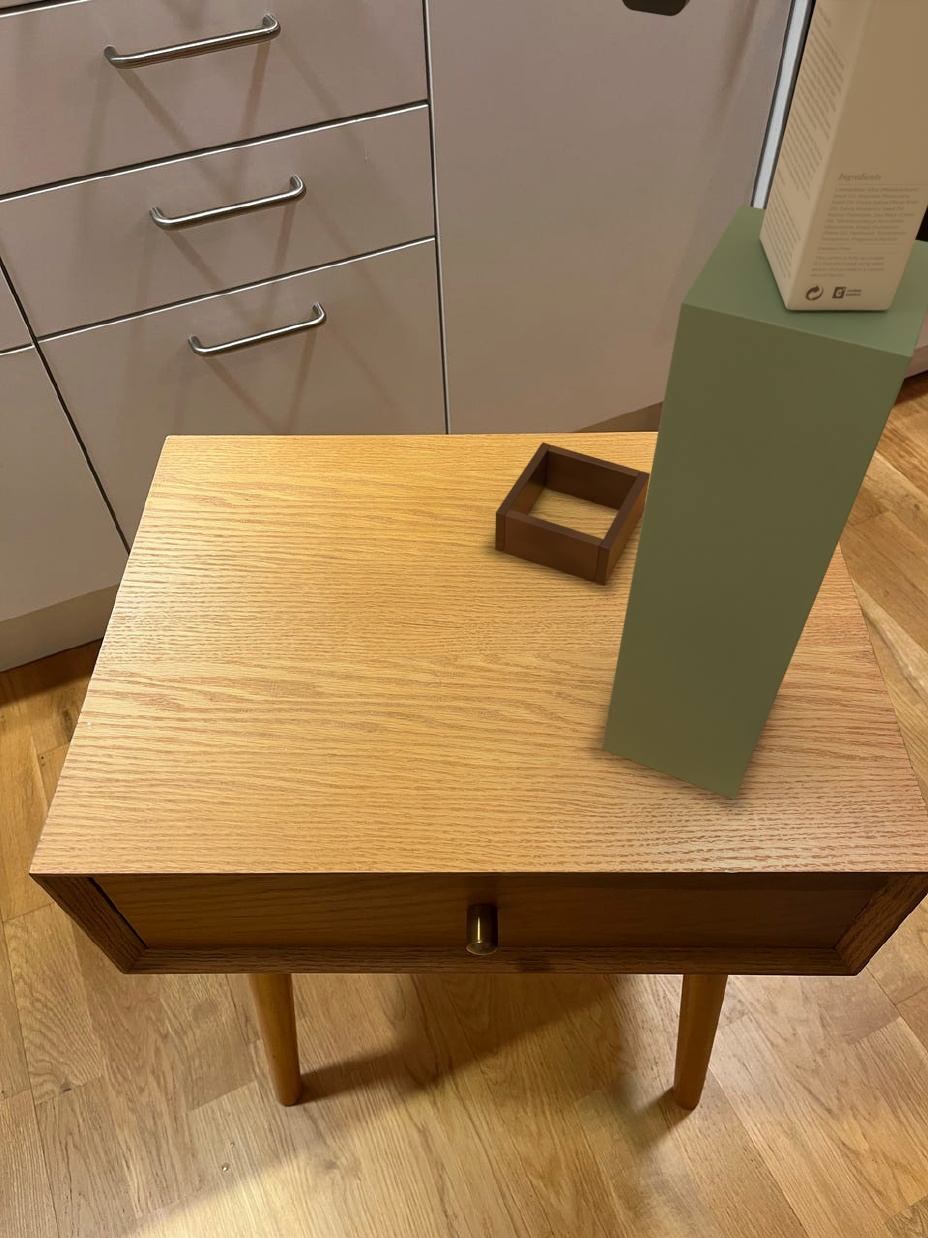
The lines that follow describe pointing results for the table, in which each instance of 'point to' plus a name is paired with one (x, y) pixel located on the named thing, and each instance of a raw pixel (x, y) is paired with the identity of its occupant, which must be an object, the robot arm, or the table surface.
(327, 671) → the table surface
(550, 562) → the holder
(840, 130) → the cosmetic box
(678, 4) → the robot arm
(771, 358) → the pedestal
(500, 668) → the table surface
